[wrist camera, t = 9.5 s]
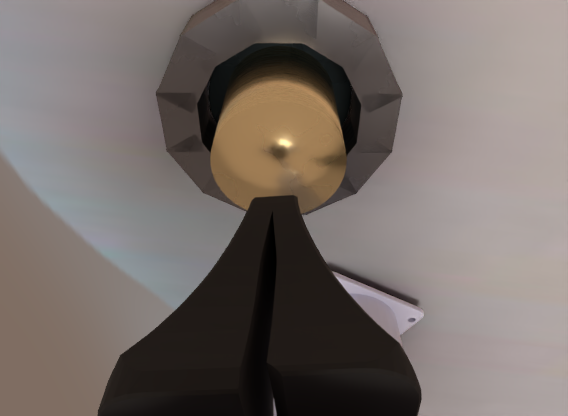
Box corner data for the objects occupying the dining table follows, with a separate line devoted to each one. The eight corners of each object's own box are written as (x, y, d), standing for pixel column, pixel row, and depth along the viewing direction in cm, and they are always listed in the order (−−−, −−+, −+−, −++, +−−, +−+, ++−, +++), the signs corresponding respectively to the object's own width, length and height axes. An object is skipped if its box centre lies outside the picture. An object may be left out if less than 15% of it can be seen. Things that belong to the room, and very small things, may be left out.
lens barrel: (312, 210, 25) (314, 241, 23) (142, 131, 22) (127, 159, 20) (434, 59, 19) (451, 84, 17) (230, -75, 16) (222, -65, 14)
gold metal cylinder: (298, 161, 22) (300, 233, 18) (209, 117, 21) (189, 184, 17) (355, 81, 20) (374, 144, 15) (257, 23, 18) (249, 75, 14)
